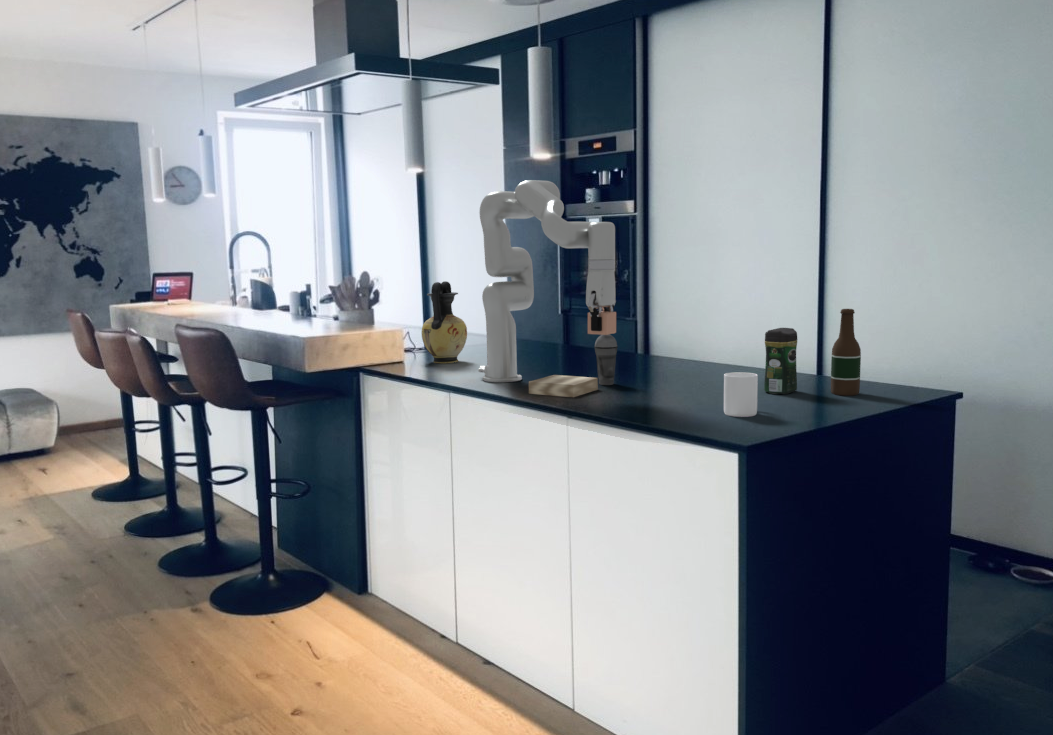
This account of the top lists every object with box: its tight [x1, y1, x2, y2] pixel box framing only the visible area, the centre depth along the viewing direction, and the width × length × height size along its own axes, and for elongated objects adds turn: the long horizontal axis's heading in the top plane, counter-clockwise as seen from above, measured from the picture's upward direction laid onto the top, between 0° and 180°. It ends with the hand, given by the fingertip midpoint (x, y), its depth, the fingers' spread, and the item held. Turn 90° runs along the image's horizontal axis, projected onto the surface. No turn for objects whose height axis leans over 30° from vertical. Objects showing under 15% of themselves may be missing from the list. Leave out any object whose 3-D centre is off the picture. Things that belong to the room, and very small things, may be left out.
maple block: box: [528, 374, 599, 398], centre depth 275 cm, size 15×15×4 cm
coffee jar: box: [763, 327, 798, 395], centre depth 265 cm, size 10×8×19 cm
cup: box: [723, 371, 759, 418], centre depth 236 cm, size 8×12×10 cm
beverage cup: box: [593, 334, 618, 386], centre depth 286 cm, size 7×7×20 cm
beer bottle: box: [830, 308, 862, 397], centre depth 260 cm, size 8×8×24 cm
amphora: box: [421, 281, 468, 364], centre depth 344 cm, size 18×17×30 cm
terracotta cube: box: [587, 310, 617, 336], centre depth 263 cm, size 6×6×6 cm
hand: (601, 329), depth 263 cm, fingers closed on terracotta cube, 6 cm apart
